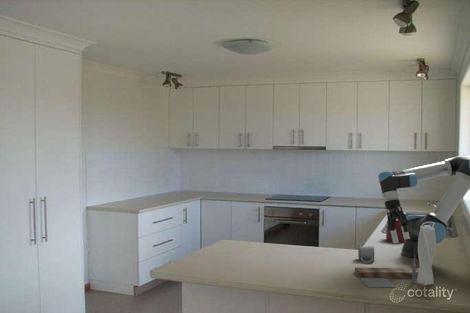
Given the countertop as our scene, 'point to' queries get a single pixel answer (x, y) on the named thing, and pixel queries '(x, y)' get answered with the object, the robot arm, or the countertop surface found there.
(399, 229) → the canister
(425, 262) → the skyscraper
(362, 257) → the ceramic mug
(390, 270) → the walnut board
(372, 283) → the end pad
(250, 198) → the countertop surface
